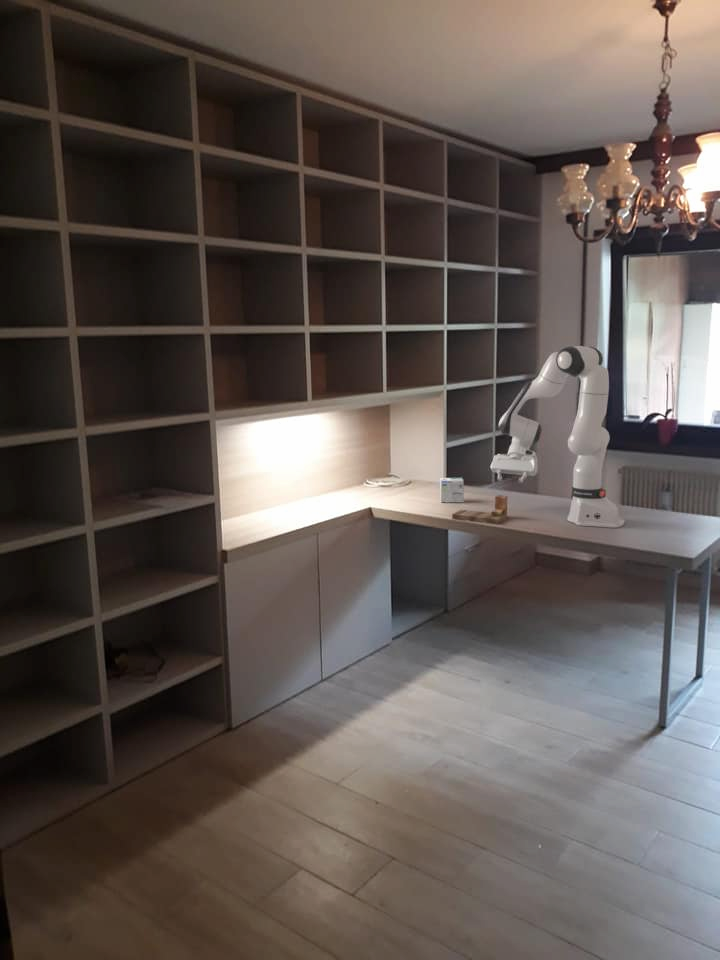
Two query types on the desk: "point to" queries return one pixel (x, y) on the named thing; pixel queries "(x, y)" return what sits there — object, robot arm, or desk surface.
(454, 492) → the light bulb box
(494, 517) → the plank
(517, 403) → the robot arm
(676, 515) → the desk surface
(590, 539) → the desk surface
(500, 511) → the brown l-shaped block
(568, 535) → the desk surface
